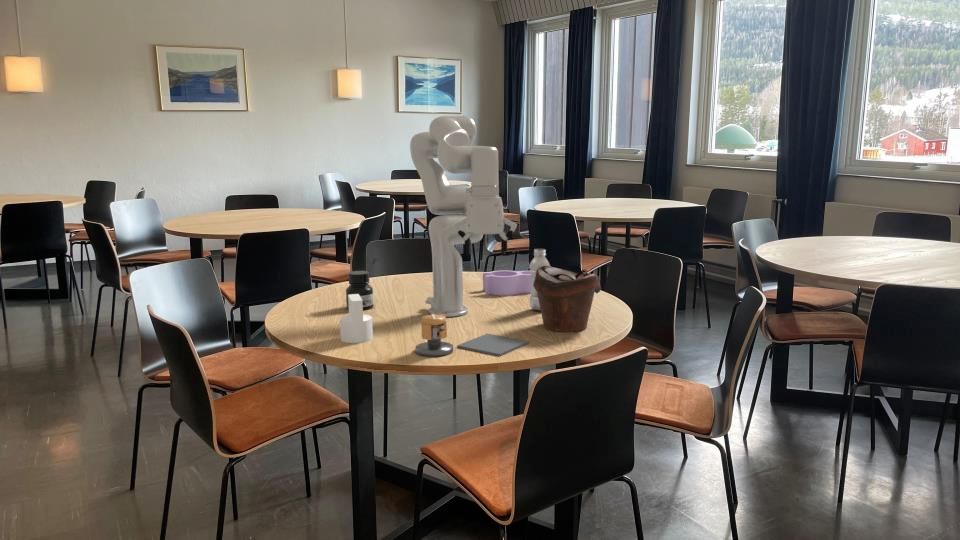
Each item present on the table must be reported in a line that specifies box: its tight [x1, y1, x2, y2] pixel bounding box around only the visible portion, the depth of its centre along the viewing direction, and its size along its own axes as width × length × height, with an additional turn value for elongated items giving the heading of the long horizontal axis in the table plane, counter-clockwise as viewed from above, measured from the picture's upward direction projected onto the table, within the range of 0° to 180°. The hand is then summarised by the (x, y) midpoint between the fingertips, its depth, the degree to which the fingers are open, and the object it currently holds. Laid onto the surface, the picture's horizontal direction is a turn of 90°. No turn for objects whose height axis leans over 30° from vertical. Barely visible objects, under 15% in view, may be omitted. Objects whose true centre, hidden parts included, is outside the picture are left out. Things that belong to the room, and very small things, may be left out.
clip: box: [482, 270, 532, 296], centre depth 259 cm, size 20×12×7 cm, turn 97°
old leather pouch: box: [533, 265, 602, 333], centre depth 209 cm, size 18×20×18 cm
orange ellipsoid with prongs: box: [420, 314, 448, 341], centre depth 187 cm, size 6×6×6 cm
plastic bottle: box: [529, 248, 551, 312], centre depth 229 cm, size 6×7×20 cm
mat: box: [456, 333, 530, 357], centre depth 192 cm, size 14×14×1 cm
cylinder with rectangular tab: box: [339, 294, 374, 344], centre depth 199 cm, size 9×9×12 cm
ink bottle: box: [345, 270, 374, 311], centre depth 236 cm, size 10×9×12 cm
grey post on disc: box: [415, 324, 454, 358], centre depth 187 cm, size 10×10×8 cm
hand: (486, 254), depth 196 cm, fingers open, 9 cm apart
